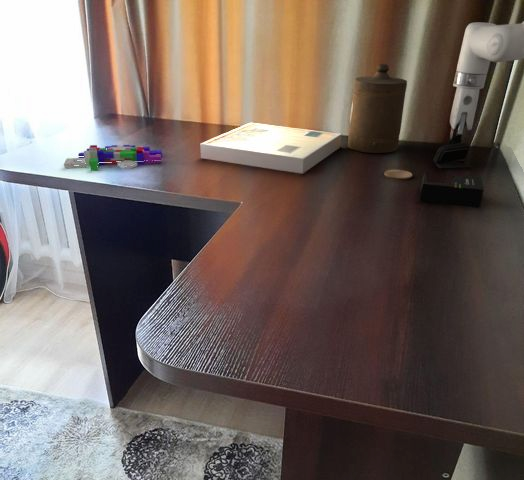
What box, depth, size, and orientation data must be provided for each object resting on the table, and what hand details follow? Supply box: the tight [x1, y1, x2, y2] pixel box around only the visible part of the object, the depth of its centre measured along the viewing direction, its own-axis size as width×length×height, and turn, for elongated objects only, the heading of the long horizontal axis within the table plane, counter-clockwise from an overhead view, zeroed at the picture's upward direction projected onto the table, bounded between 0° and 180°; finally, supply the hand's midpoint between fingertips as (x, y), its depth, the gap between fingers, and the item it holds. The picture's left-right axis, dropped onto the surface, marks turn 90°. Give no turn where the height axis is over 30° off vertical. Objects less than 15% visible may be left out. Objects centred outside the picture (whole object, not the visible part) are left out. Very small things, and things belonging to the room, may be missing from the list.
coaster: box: [383, 169, 413, 180], centre depth 130 cm, size 7×7×1 cm
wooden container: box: [347, 63, 408, 154], centre depth 146 cm, size 15×15×22 cm
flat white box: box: [199, 122, 343, 175], centre depth 145 cm, size 30×4×30 cm
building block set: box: [63, 144, 163, 172], centre depth 137 cm, size 25×20×4 cm
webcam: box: [432, 142, 473, 170], centre depth 136 cm, size 9×6×6 cm
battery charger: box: [419, 171, 484, 208], centre depth 115 cm, size 13×10×4 cm
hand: (451, 154), depth 140 cm, fingers closed
